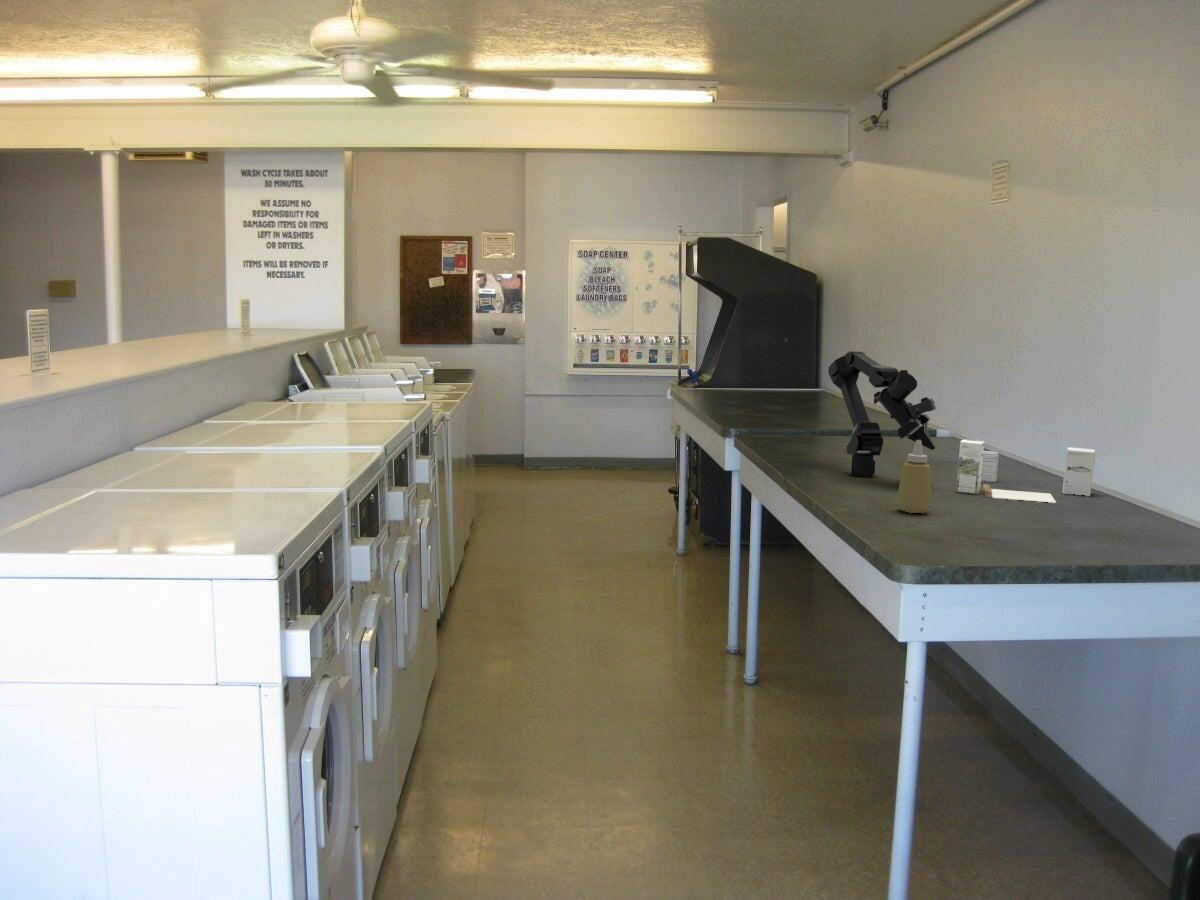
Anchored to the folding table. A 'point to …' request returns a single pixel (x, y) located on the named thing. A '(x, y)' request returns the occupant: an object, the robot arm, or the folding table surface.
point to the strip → (987, 490)
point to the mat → (1022, 496)
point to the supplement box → (1078, 471)
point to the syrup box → (970, 466)
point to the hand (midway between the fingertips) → (934, 448)
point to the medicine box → (989, 466)
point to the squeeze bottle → (915, 482)
